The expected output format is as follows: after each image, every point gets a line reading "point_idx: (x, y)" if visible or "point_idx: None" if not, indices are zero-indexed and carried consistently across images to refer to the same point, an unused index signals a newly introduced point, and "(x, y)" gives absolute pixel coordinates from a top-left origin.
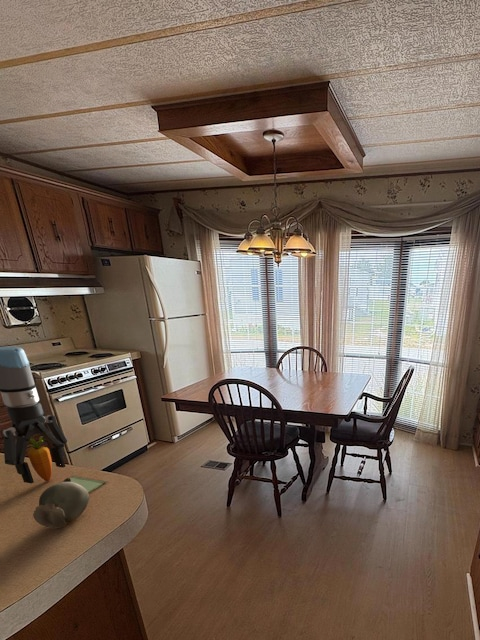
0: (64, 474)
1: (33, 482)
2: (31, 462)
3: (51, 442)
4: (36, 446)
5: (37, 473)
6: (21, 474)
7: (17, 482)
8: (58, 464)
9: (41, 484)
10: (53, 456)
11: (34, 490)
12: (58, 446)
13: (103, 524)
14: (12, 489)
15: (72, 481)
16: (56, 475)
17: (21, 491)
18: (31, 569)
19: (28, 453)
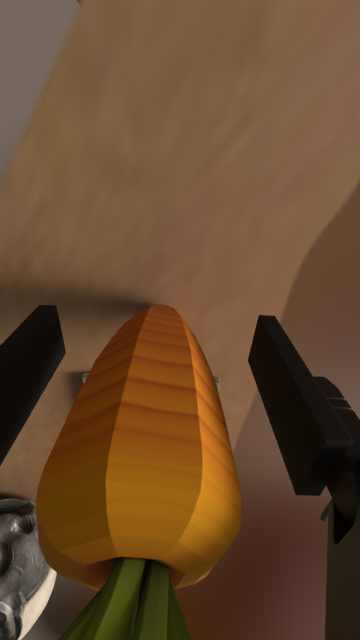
0: (241, 324)
1: (62, 352)
2: (82, 391)
3: (347, 564)
4: (129, 607)
5: (121, 328)
6: (9, 338)
7: (94, 136)
8: (258, 346)
9: (127, 303)
10: (285, 366)
11: (74, 320)
12: (332, 506)
13: None
14: (25, 198)
15: None
16: (225, 297)
17: (39, 270)
18: None
19: (38, 498)
